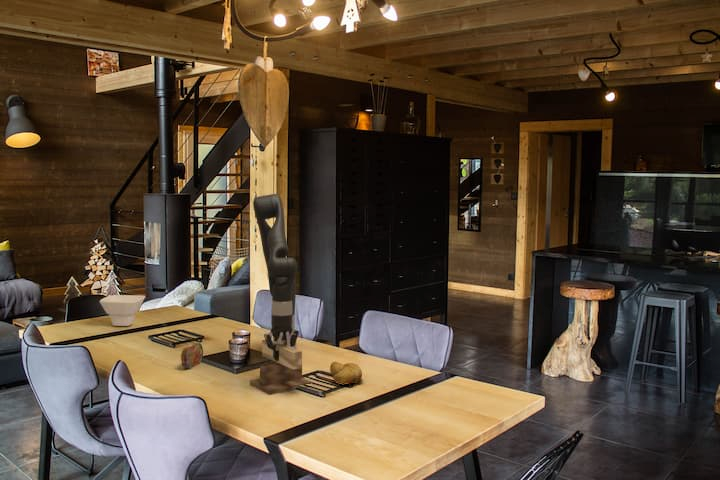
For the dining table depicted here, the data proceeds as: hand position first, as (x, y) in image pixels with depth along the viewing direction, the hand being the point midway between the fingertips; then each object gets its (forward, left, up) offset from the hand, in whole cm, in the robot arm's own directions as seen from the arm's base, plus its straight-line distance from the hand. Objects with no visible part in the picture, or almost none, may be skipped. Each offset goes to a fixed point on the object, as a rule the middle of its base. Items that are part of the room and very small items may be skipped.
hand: (281, 359), depth 241 cm
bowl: (+15, -128, -10) cm, 129 cm away
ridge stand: (0, 0, -10) cm, 10 cm away
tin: (+16, -42, -10) cm, 46 cm away
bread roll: (-23, +11, -10) cm, 27 cm away
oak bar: (0, 0, -1) cm, 1 cm away
